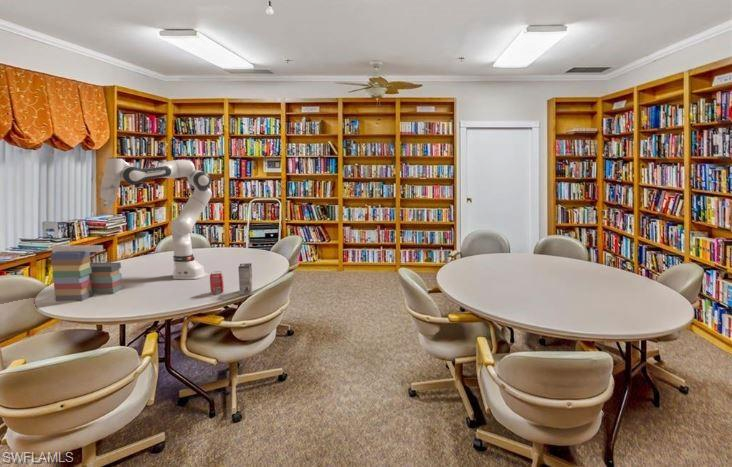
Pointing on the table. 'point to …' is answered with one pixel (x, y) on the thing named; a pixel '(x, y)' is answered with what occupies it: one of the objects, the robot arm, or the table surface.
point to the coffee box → (245, 278)
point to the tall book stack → (71, 275)
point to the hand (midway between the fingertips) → (105, 207)
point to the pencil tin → (78, 248)
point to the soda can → (216, 282)
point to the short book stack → (105, 278)
